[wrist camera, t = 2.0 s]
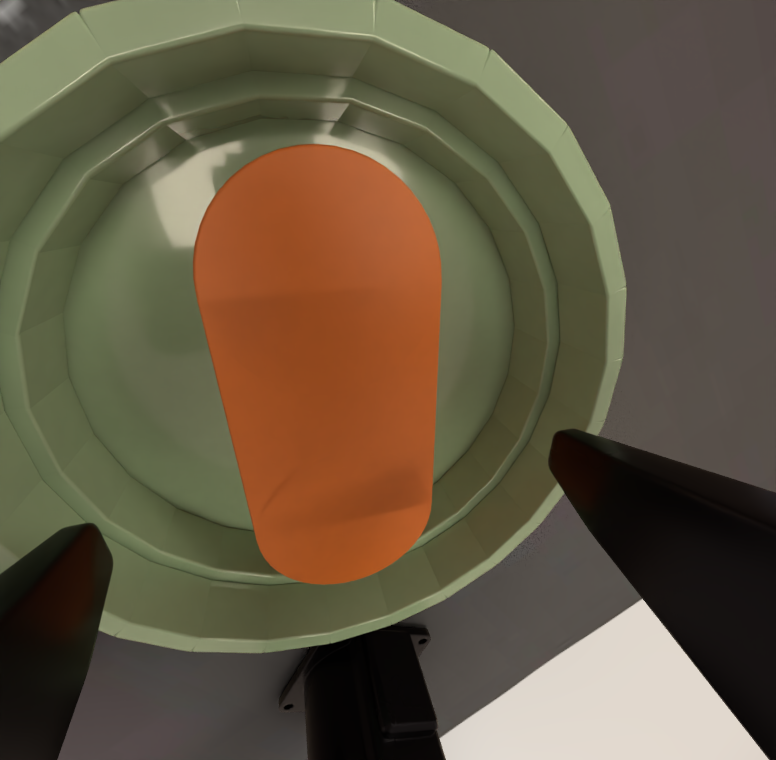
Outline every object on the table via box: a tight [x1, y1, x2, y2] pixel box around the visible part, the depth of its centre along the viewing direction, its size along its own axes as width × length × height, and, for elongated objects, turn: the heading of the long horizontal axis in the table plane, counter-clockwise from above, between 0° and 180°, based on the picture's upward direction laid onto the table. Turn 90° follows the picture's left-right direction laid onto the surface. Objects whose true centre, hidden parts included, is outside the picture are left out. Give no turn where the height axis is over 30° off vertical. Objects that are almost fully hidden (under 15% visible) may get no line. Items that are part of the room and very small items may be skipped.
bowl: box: [0, 0, 627, 653], centre depth 11 cm, size 16×16×4 cm
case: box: [193, 144, 442, 585], centre depth 11 cm, size 12×5×3 cm, turn 1°
